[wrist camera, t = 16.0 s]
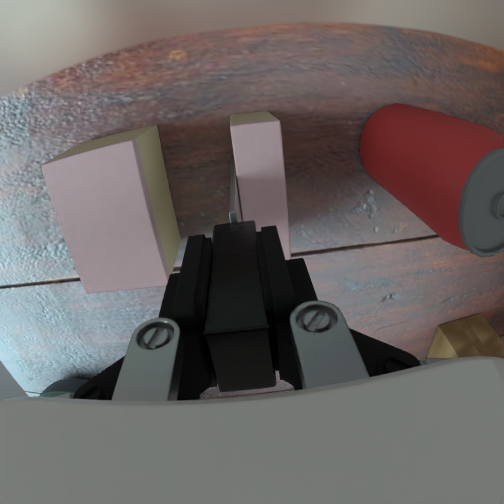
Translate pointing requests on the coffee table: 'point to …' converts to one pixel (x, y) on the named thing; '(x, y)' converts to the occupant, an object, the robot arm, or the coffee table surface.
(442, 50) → the coffee table surface
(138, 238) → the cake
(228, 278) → the knife
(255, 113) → the cake slice
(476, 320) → the knife block
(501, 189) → the beer can
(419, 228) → the coffee table surface
